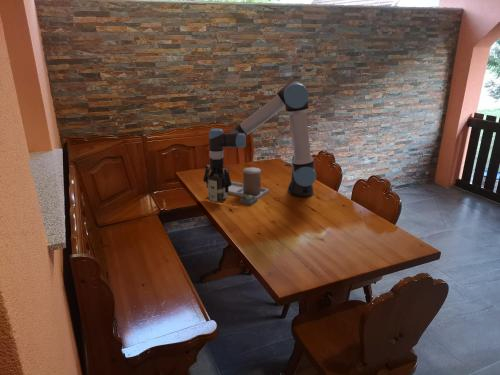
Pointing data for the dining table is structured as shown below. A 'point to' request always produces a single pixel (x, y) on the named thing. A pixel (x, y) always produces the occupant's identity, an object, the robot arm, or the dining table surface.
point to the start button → (248, 197)
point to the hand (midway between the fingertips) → (217, 195)
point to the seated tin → (251, 181)
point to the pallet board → (238, 190)
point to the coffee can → (216, 188)
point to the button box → (248, 201)
